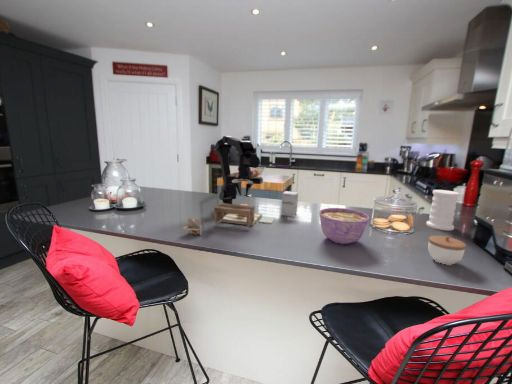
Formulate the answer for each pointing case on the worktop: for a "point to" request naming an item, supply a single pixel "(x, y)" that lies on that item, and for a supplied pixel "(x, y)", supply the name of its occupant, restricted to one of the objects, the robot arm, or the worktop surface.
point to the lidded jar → (446, 249)
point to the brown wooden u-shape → (234, 212)
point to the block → (243, 215)
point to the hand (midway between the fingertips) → (243, 195)
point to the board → (239, 218)
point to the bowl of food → (343, 224)
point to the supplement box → (289, 203)
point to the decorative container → (443, 209)
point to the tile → (267, 220)
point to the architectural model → (194, 226)
